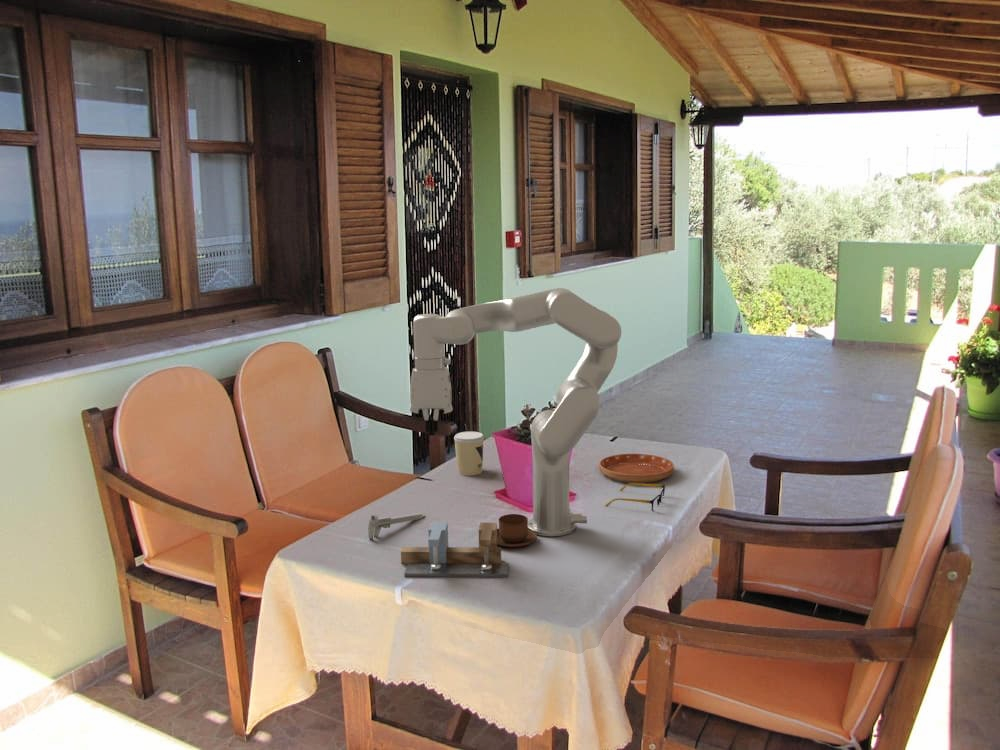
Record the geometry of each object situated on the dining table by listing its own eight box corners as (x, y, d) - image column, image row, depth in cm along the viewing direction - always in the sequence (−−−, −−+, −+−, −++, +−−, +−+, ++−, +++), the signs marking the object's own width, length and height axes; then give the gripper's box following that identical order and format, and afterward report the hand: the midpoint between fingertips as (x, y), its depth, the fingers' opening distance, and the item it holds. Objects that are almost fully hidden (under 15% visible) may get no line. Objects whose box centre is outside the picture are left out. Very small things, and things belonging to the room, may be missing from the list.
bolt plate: (508, 566, 220) (508, 560, 220) (507, 577, 215) (507, 570, 214) (408, 566, 222) (408, 559, 222) (404, 576, 216) (404, 570, 216)
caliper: (371, 541, 239) (370, 517, 237) (368, 540, 239) (367, 516, 238) (425, 517, 255) (425, 495, 253) (422, 516, 255) (422, 494, 254)
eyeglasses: (655, 514, 254) (655, 500, 253) (604, 507, 260) (604, 494, 259) (667, 497, 267) (667, 484, 266) (619, 491, 273) (619, 479, 272)
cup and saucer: (481, 539, 238) (481, 516, 237) (521, 529, 244) (521, 507, 243) (504, 554, 228) (504, 531, 227) (546, 544, 234) (545, 521, 232)
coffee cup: (484, 476, 288) (483, 439, 286) (454, 476, 288) (453, 439, 286) (485, 467, 297) (484, 430, 295) (455, 467, 297) (454, 431, 295)
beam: (501, 557, 226) (500, 522, 224) (498, 576, 215) (498, 539, 213) (403, 556, 227) (402, 522, 226) (396, 575, 217) (394, 539, 215)
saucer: (600, 462, 300) (600, 451, 299) (672, 464, 297) (672, 453, 296) (597, 485, 278) (597, 473, 277) (675, 487, 275) (675, 475, 274)
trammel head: (448, 556, 227) (447, 522, 225) (443, 574, 216) (442, 539, 214) (432, 555, 227) (431, 522, 225) (426, 574, 216) (424, 539, 214)
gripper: (461, 360, 235) (463, 430, 239) (402, 361, 236) (405, 430, 240) (457, 366, 228) (460, 438, 231) (397, 366, 229) (400, 438, 232)
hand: (432, 434), depth 236 cm, fingers closed
